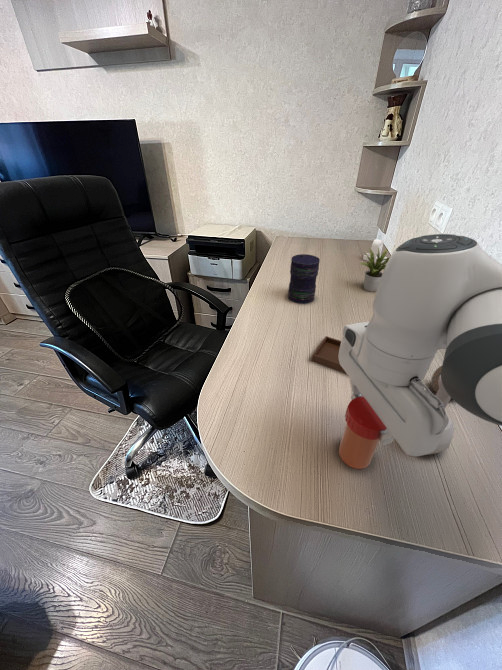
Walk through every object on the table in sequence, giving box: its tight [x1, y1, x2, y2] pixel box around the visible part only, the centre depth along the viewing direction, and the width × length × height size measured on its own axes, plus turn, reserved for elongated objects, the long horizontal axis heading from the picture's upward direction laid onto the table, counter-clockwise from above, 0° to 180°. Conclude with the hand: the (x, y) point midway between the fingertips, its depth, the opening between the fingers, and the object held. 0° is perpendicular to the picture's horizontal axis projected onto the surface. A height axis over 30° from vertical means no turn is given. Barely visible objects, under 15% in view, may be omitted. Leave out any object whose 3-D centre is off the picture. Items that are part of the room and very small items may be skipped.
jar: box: [338, 422, 380, 470], centre depth 49 cm, size 6×6×11 cm
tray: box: [311, 335, 348, 375], centre depth 75 cm, size 11×10×2 cm
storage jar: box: [287, 253, 321, 305], centre depth 100 cm, size 10×10×15 cm
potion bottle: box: [425, 375, 455, 456], centre depth 50 cm, size 9×9×18 cm
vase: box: [430, 365, 442, 394], centre depth 63 cm, size 7×7×9 cm
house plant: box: [359, 247, 391, 292], centre depth 105 cm, size 14×14×16 cm
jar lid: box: [344, 397, 387, 440], centre depth 46 cm, size 7×7×2 cm
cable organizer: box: [362, 238, 388, 264], centre depth 134 cm, size 5×10×10 cm, turn 49°
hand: (369, 419), depth 47 cm, fingers closed on jar lid, 7 cm apart
